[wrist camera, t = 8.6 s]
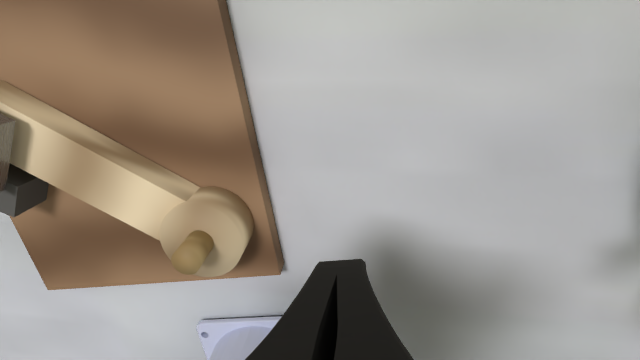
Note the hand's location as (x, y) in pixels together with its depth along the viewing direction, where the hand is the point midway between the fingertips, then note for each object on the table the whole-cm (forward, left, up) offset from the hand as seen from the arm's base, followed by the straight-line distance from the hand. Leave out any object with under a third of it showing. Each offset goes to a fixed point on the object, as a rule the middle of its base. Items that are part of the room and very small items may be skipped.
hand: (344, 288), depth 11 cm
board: (+3, +13, -10) cm, 17 cm away
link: (+1, +12, -9) cm, 15 cm away
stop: (+2, +18, -9) cm, 21 cm away
